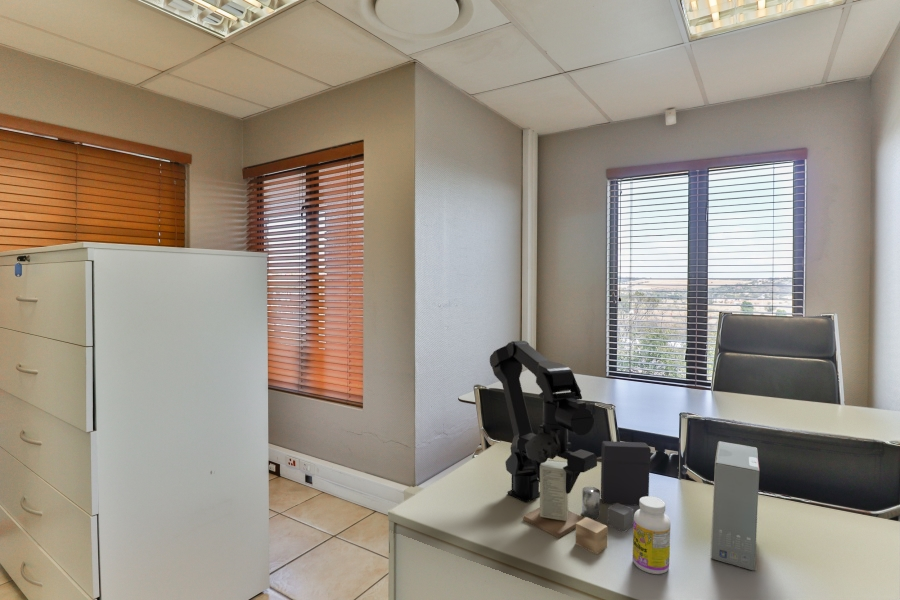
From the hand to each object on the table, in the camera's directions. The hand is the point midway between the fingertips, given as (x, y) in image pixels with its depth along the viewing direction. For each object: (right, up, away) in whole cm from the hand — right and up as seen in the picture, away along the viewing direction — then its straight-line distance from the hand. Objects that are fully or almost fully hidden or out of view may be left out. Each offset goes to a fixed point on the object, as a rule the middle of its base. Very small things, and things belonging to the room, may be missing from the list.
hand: (554, 487), depth 108 cm
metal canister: (+9, -8, +3) cm, 13 cm away
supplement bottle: (+15, -9, -16) cm, 24 cm away
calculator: (+20, -8, +10) cm, 23 cm away
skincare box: (0, -7, 0) cm, 7 cm away
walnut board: (0, -8, 0) cm, 8 cm away
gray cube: (+15, -8, -1) cm, 17 cm away
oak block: (+6, -9, -9) cm, 14 cm away
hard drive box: (+36, -9, -10) cm, 38 cm away
